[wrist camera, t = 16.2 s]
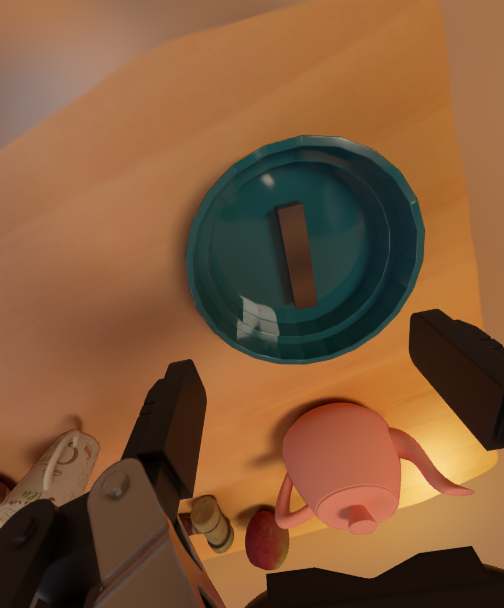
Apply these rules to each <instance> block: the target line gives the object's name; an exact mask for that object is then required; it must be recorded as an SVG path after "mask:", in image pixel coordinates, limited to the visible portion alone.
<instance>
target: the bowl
mask: <svg viewBox="0 0 504 608" xmlns="http://www.w3.org/2000/svg"><path fill="white" fill-rule="evenodd" d="M296 200H299V201H300V202H302V203H303V205H304V212H305V219H306V226H307V233H308V240H309V247H310V254H311V261H312V268H313V275H314V282H315V289H316V296H317V303H318V306H314V307H309V308H305V309H300V310H296V308H295V305H294V302H293V298H292V293H291V288H290V282H289V277H288V272H287V267H286V261H285V256H284V251H283V245H282V240H281V235H280V230H279V224H278V219H277V214H276V209H275V206H277V205H281V204H284V203H288V202H292V201H296ZM424 239H425V228H424V224H423V220H422V216H421V211H420V207H419V203H418V200H417V197H416V196H415V194H414V192H413V191H412V189H411V188H410V186H409V184H408V183H407V181H406V179H405V178H404V176H403V174H402V173H401V172H400V170H399V169H397V168H396V167H395V166H394V165H393V164H391V163H390V162H389V161H388V160H386V159H385V158H384V157H383V156H382V155H380V154H379V153H378V152H377V151H376V150H374V149H372V148H369V147H367V146H364V145H361V144H359V143H356V142H353V141H351V140H348V139H345V138H343V137H339V136H312V135H302V136H297V137H293V138H290V139H286V140H282V141H279V142H275V143H271V144H268V145H265V146H263V147H261V148H259V149H258V150H256V151H255V152H253V153H251V154H250V155H248V156H246V157H245V158H243V159H242V160H240V161H238V162H237V163H235V164H233V165H232V166H231V167H230V168H229V169H228V170H227V171H226V172H225V174H224V175H223V176H222V177H221V178H220V179H219V180H218V181H217V182H216V183H215V184H214V186H213V187H212V188H211V189H210V190H209V191H208V192H207V194H206V196H205V198H204V200H203V202H202V204H201V206H200V208H199V209H198V211H197V213H196V215H195V217H194V219H193V221H192V224H191V228H190V234H189V239H188V244H187V249H186V268H187V280H188V286H189V289H190V291H191V294H192V297H193V299H194V302H195V305H196V307H197V310H198V311H199V313H200V314H201V316H202V317H203V318H204V320H205V321H206V322H207V324H208V325H209V327H210V328H211V329H212V331H213V332H214V333H215V334H217V335H218V336H219V337H220V338H221V339H223V340H224V341H225V342H226V343H227V344H229V345H230V346H231V347H232V348H234V349H236V350H238V351H241V352H243V353H245V354H247V355H249V356H251V357H253V358H256V359H259V360H264V361H268V362H272V363H277V364H310V363H315V362H321V361H326V360H330V359H333V358H336V357H338V356H341V355H343V354H346V353H348V352H350V351H353V350H355V349H357V348H358V347H360V346H361V345H363V344H364V343H366V342H367V341H369V340H370V339H372V338H373V337H375V336H376V335H378V334H379V333H380V332H381V331H382V330H383V329H384V328H385V327H386V326H387V325H388V324H389V323H390V322H391V321H392V320H393V319H394V318H395V317H396V316H397V315H398V313H399V312H400V310H401V309H402V307H403V305H404V304H405V302H406V301H407V299H408V297H409V296H410V294H411V293H412V291H413V289H414V287H415V284H416V281H417V278H418V275H419V272H420V269H421V266H422V263H423V256H424Z"/></svg>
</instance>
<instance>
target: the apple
mask: <svg viewBox="0 0 504 608" xmlns="http://www.w3.org/2000/svg"><path fill="white" fill-rule="evenodd" d="M245 548H246V553H247V556H248V558H249V561H250V562H251V563H252V564H253V565H254V566H256V567H259V568H261V569H264V570H275V569H278V568H279V567H280V566H281V565H282V563H283V562H284V560H285V558H286V556H287V553H288V549H289V532H288V529H283V528H280V527H279V526H278V525H277V523H276V520H275V515H274V514H272V513H270V512H267V511H263V510H261V511H258V512H257V513H256V514H255V515H254V516H253V517H252V519H251V520H250V522H249V525H248V527H247V531H246V537H245Z"/></svg>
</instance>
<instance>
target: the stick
mask: <svg viewBox="0 0 504 608" xmlns="http://www.w3.org/2000/svg"><path fill="white" fill-rule="evenodd" d="M275 209H276V214H277V219H278V224H279V230H280V235H281V240H282V245H283V251H284V256H285V261H286V267H287V272H288V277H289V282H290V288H291V293H292V298H293V302H294V305H295V308H296V310H300V309H305V308H309V307H314V306H318V303H317V296H316V289H315V282H314V275H313V268H312V261H311V254H310V247H309V240H308V233H307V226H306V219H305V212H304V205H303V203H302V202H300V201H299V200H296V201H292V202H288V203H284V204H281V205H277V206H275Z"/></svg>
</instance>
